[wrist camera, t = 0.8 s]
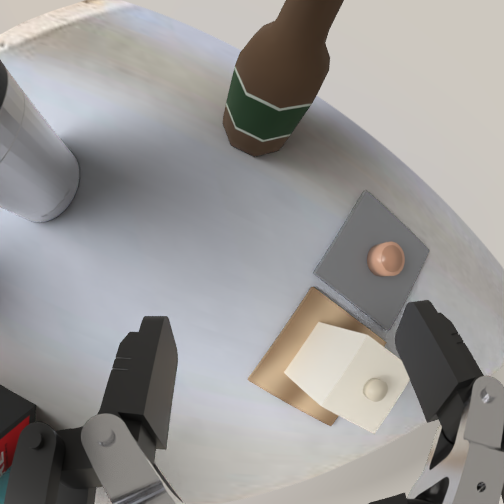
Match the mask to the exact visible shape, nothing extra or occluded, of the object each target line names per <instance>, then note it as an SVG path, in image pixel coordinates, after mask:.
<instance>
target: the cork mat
mask: <svg viewBox="0 0 504 504" xmlns="http://www.w3.org/2000/svg"><path fill="white" fill-rule="evenodd" d="M318 322H321V323H325V324H329V325H332V326H336V327H340V328H343V329H347V330H351V331H355V332H359V333H362V334H366V335H369V336H370V337H371V338H373V339H374V340H375V341H377V342H378V343H379V344H381V345H382V346H383V347H384V346H385V344H386V343H387V342H385V341H384V340H383V339H381V338H380V337H379V336H377V335H376V334H375V333H373V332H372V331H371V330H370V329H368V328H367V327H366V326H364V325H363V324H362V323H360V322H359V321H358V320H356V319H355V318H354V317H352V316H351V315H350V314H349V313H347V312H346V311H345V310H343V309H342V308H341V307H339V306H338V305H337V304H335V303H334V302H333V301H331V300H330V299H329V298H327V297H326V296H325V295H323V294H322V293H321V292H319V291H318V290H317V289H315V288H314V287H311V288H310V290H309V291H308V293H307V294H306V296H305V297H304V299H303V300H302V302H301V303H300V305H299V306H298V308H297V309H296V311H295V312H294V314H293V315H292V317H291V318H290V320H289V321H288V322H287V324H286V325H285V327H284V328H283V330H282V331H281V333H280V334H279V336H278V337H277V338H276V340H275V341H274V343H273V344H272V346H271V347H270V348H269V350H268V351H267V353H266V354H265V355H264V357H263V358H262V360H261V361H260V362H259V364H258V365H257V367H256V368H255V369H254V371H253V372H252V373H251V375H250V376H249V377H248V380H249V381H250V382H252V383H254V384H255V385H257V386H259V387H260V388H262V389H264V390H265V391H267V392H269V393H270V394H272V395H274V396H276V397H277V398H279V399H281V400H283V401H284V402H286V403H288V404H290V405H291V406H293V407H295V408H297V409H299V410H301V411H302V412H304V413H306V414H308V415H310V416H312V417H314V418H316V419H317V420H319V421H321V422H323V423H325V424H327V425H329V426H332V424H333V423H334V422H335V420H336V419H337V417H338V415H337V414H335V413H333V412H331V411H329V410H327V409H325V408H324V407H322V406H320V405H319V404H318V403H317V402H316V401H315V400H313V399H312V398H311V397H310V396H309V395H308V394H307V393H306V392H304V391H303V390H302V389H301V388H300V387H299V386H298V385H297V384H296V383H294V382H293V381H292V380H291V379H290V378H289V377H288V376H287V375H286V374H285V373H284V371H285V370H286V369H287V367H288V366H289V364H290V363H291V362H292V360H293V359H294V357H295V356H296V354H297V353H298V352H299V350H300V349H301V347H302V346H303V344H304V343H305V341H306V340H307V338H308V337H309V335H310V334H311V332H312V331H313V329H314V328H315V326H316V325H317V323H318Z"/></svg>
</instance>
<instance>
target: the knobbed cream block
mask: <svg viewBox="0 0 504 504" xmlns="http://www.w3.org/2000/svg"><path fill="white" fill-rule="evenodd" d="M284 373H285V374H286V375H287V376H288V377H289V378H290V379H291V380H292V381H293V382H294V383H296V384H297V385H298V386H299V387H300V388H301V389H302V390H303V391H304V392H306V393H307V394H308V395H309V396H310V397H311V398H312V399H313V400H315V401H316V402H317V403H318V404H319V405H320V406H322V407H324V408H325V409H327V410H329V411H331V412H333V413H335V414H337V415H338V416H340V417H342V418H344V419H346V420H348V421H350V422H352V423H354V424H356V425H358V426H359V427H361V428H363V429H365V430H367V431H369V432H371V433H373V434H375V432H376V431H377V429H378V428H379V427H380V425H381V424H382V422H383V421H384V419H385V418H386V416H387V415H388V413H389V412H390V410H391V409H392V407H393V406H394V404H395V403H396V401H397V400H398V398H399V397H400V395H401V393H402V392H403V390H404V388H405V387H406V385H407V384H408V382H409V380H410V378H409V376H408V374H407V371H406V369H405V367H404V365H403V362H402V360H401V359H399V358H398V357H397V356H395V355H394V354H393V353H391V352H390V351H389V350H387V349H386V348H385V347H383V346H382V345H381V344H379V343H378V342H377V341H375V340H374V339H373V338H371V337H370V336H369V335H366V334H362V333H359V332H355V331H351V330H347V329H343V328H340V327H336V326H332V325H329V324H325V323H321V322H318V323H317V325H316V326H315V328H314V329H313V331H312V332H311V334H310V335H309V337H308V338H307V340H306V341H305V343H304V344H303V346H302V347H301V349H300V350H299V352H298V353H297V354H296V356H295V357H294V359H293V360H292V362H291V363H290V364H289V366H288V367H287V369H286V370H285V371H284Z"/></svg>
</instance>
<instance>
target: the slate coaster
mask: <svg viewBox="0 0 504 504" xmlns="http://www.w3.org/2000/svg"><path fill="white" fill-rule="evenodd" d="M386 242H395V243H397V244H398V245H399V246H400V247H401V248H402V250H403V252H404V257H405V263H404V267H403V269H402V271H401V272H400V273H399V274H397V275H395V276H383V277H379V276H376V275H374V274H373V273H372V272H371V271H370V269H369V267H368V264H367V255H368V252H369V250H370V249H371V248H372V247H373V246H374V245H377V244H381V243H386ZM428 253H429V249H428V248H427V247H426V246H425V245H424V244H423V243H422V242H421V241H420V240H419V239H418V238H417V237H416V236H415V235H414V234H413V233H412V232H411V231H410V230H409V229H408V228H407V227H406V226H405V225H404V224H403V223H402V222H401V221H400V220H399V219H398V218H397V217H396V216H394V215H393V214H392V213H391V212H390V211H389V210H388V209H387V208H386V207H385V206H384V205H383V204H382V203H380V202H379V201H378V200H377V199H376V198H375V197H374V196H373V195H372V194H370V193H369V192H368V191H367V190H365V191H364V192H363V193H362V195H361V196H360V198H359V200H358V201H357V203H356V205H355V206H354V208H353V210H352V211H351V213H350V215H349V216H348V218H347V220H346V221H345V223H344V225H343V226H342V228H341V229H340V231H339V233H338V234H337V236H336V238H335V239H334V241H333V242H332V244H331V246H330V247H329V249H328V250H327V252H326V253H325V255H324V257H323V258H322V260H321V261H320V263H319V264H318V266H317V268H316V269H315V271H314V272H313V274H315V275H316V276H317V277H319V278H320V279H321V280H323V281H324V282H325V283H326V284H328V285H329V286H330V287H332V288H333V289H334V290H335V291H337V292H338V293H339V294H341V295H342V296H343V297H345V298H346V299H347V300H348V301H350V302H351V303H352V304H353V305H355V306H356V307H357V308H359V309H360V310H361V311H362V312H364V313H365V314H366V315H368V316H369V317H370V318H371V319H373V320H374V321H375V322H376V323H378V324H379V325H380V326H382V327H383V328H384V329H385V330H390V328H391V327H392V325H393V323H394V321H395V319H396V318H397V316H398V314H399V312H400V310H401V308H402V306H403V304H404V303H405V301H406V299H407V297H408V295H409V293H410V291H411V289H412V287H413V285H414V283H415V281H416V279H417V276H418V274H419V272H420V270H421V268H422V266H423V264H424V261H425V259H426V257H427V255H428Z"/></svg>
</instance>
